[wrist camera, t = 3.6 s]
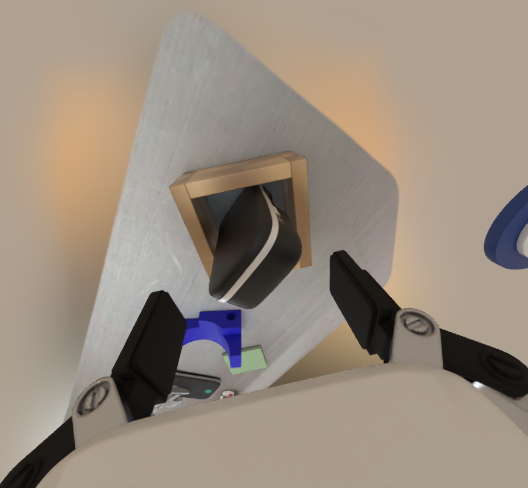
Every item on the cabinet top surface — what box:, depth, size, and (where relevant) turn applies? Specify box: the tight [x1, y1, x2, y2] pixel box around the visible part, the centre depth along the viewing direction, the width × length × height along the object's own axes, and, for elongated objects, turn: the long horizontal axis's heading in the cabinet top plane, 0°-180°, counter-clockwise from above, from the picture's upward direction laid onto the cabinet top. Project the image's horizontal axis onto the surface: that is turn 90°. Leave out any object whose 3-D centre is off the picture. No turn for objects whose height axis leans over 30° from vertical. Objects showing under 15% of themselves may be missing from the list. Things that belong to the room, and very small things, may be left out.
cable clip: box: [182, 310, 241, 368], centre depth 27 cm, size 12×4×6 cm, turn 86°
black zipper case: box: [209, 184, 302, 309], centre depth 16 cm, size 7×4×11 cm, turn 144°
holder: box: [169, 151, 312, 279], centre depth 19 cm, size 10×10×5 cm
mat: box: [223, 345, 267, 374], centre depth 36 cm, size 7×7×1 cm
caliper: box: [153, 386, 189, 413], centre depth 42 cm, size 29×2×5 cm
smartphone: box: [172, 372, 220, 399], centre depth 38 cm, size 8×1×15 cm
